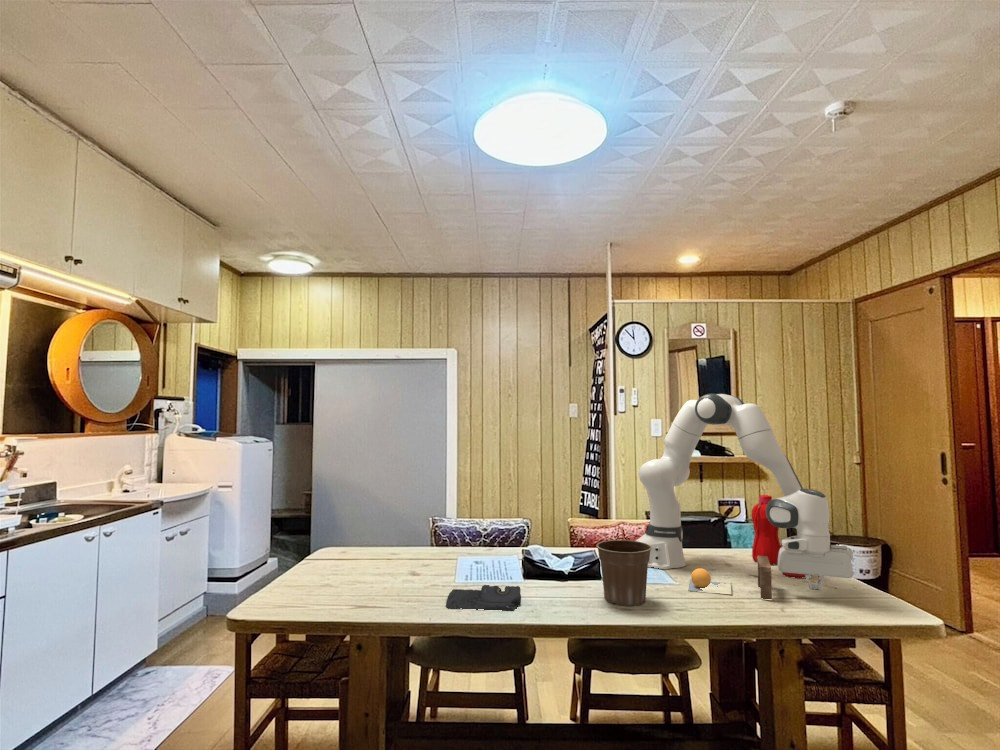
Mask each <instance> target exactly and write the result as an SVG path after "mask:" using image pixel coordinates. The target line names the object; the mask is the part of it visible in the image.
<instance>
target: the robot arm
mask: <svg viewBox="0 0 1000 750" xmlns="http://www.w3.org/2000/svg"><path fill="white" fill-rule="evenodd" d="M708 425H713V426H719V427H720V426H731V428H733V429H734V432H735V434H736V437H737V440H738V442H739V446H740V447H741V450H742V452H743V453H744V455H745V456H746V458H747V459H749V460H750V461H752V462H753V463H757V464H759V465H761V466H763V467H765V468H766V469H768V470H769V471H770V472H772V475H774V478H775V480H776V481H777V484H778V485H779V488H780V489H781V491H782V494H783V496H780V497H776V498H772V500H771V501H769V502H768V504H767V506H766V516H767V519H768V520H769V522H770V523H771V524H772V525H773V526H775V527H778V528H779V529H790V528H792V529H796V535H792V536H789V537H788V536H787V537H783V538H782V539H781V542H782V546H783V547H781V548H780V550H779V554H778V564H777V569H778V570H779V572H780V573H782V572H786V573H797V574H805V580H806V581H807V583H808V588H809V590H810V591H811V590H812V591H821V588H822V584H823V583H824V581H825V577H831V578H832V577H833V578H840V579H841V578H842V579H852V577H853V576H854V571H853V564H852V561H853V560H854V559H853V558H854V555H853V550H852V549H851V548H850V547H847V546H846V545H837V544H831V534H830V531H829V524H830V510H829V502H828V499H827V495H826V494H824V493H823V492H821V491H819V490H817V489H812V488H811V489H810V488H803V486H802V484H801V482H800V480H799V478H798V476H797V474H796V471H795V470H794V468H793V466H792V463H791V462H790V460H789V458H788V457H787V455H786V454H785V452H784V450H782V447H781V446H780V444H779V442H778V440H777V439H776V436H775V434H774V431H773V429H772V426H771V423H770V422H769V420H768V419H767V416H766V414H765V412H763V410H762V408H761V407H760V406H759V405H758V404H756V403H752V402H751V403H750V402H749V403H745V402H744V401H743V400H742V399H741V398H739V397H737V396H735V395H729V394H726V393H707V394H704V395H702V396H701V397H699V398H698V399H688V400H687V401H686V402H685V403H684V404H683V406H681V408H680V410H679V411H678V413H677V414H676V416H675V417H674V419H673V421H672V423H671V425H670V427H669V429H668V432H667V433H666V435H665V437H664V444H665V446H664V452H663V455H662V456H661V457H660V458H654V459H650V460H649V461H647V462H645V463H643V464H642V465H641V466H640V468H639V471H638V477H639V480H640V483H642V485H643V486H644V487H645V490H646V494H647V497H648V502H649V520H650V522H647V523H645V524H644V534H642V536H640V537H639V538H638V539H635V541H638V542H642V543H646V544H648V545H650V546H651V547H652V549H651V550H650V557H649V562H648V568H651V567H654V568H653V569H658V568H659V569H660V570H670V569H678V568H683V567H685V566H686V565H687V562H686V559H685V555H684V551H683V543H682V542H683V537H684V536H683V535H684V534H683V526H682V522H681V517H682V516H681V512H682V511H681V509H682V508H681V504H680V502H679V501H678V499H677V496H676V493H675V490H674V489H675V488H674V487H678V486H680V485H682V484H684V483H685V482H686V481H687V480H688V479H689V477H690V473H691V472H690V471H691V469H690V464H691V461H692V456H693V453H694V452H695V449H696V447H697V445H698V443H699V441H700V439H701V438H702V435H703V433H704V432H705V430H706V427H707V426H708ZM812 576H817V577H818V580H817V582H812V581H811V577H812Z"/></svg>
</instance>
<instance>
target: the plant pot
mask: <svg viewBox="0 0 1000 750" xmlns="http://www.w3.org/2000/svg"><path fill="white" fill-rule="evenodd" d="M596 548H597V551H598V559H599V560H600V561H599V562H600V567H601V576H602V577H601V578H602V585H603V594H604V595H603V596H604V597H603V598H604V599H605V602H607V603H609V604H612V605H614V604H617V605H618V606H622V607H624V606H625V607H635V606H640V605H642V604H643V603H646V599H647V582H648V581H647V580H648V568H649V567H648V562H649V557H650V550H651V549H652V547H651V546H650V545H648V544H646V543H642V542H638V541H636V540H632V539H631V540H628V539H612V540H610V539H609V540H604V541H601V542H598V543H596Z"/></svg>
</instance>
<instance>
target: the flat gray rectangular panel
mask: <svg viewBox="0 0 1000 750" xmlns="http://www.w3.org/2000/svg"><path fill="white" fill-rule="evenodd" d="M710 583H712V584H714V585H718V584H720V583H722V582H721V581H719V582H717V581H711V582H710ZM723 583H724V584H726V583H727V582H723ZM730 584H732V583H731V582H730ZM717 587H718V586H717ZM687 590H688V592H693V591H703V590H702V589H700V588H699V587H697V586H695V585H694V584H693V582H692V580H691V579H689V585H688V589H687Z"/></svg>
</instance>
